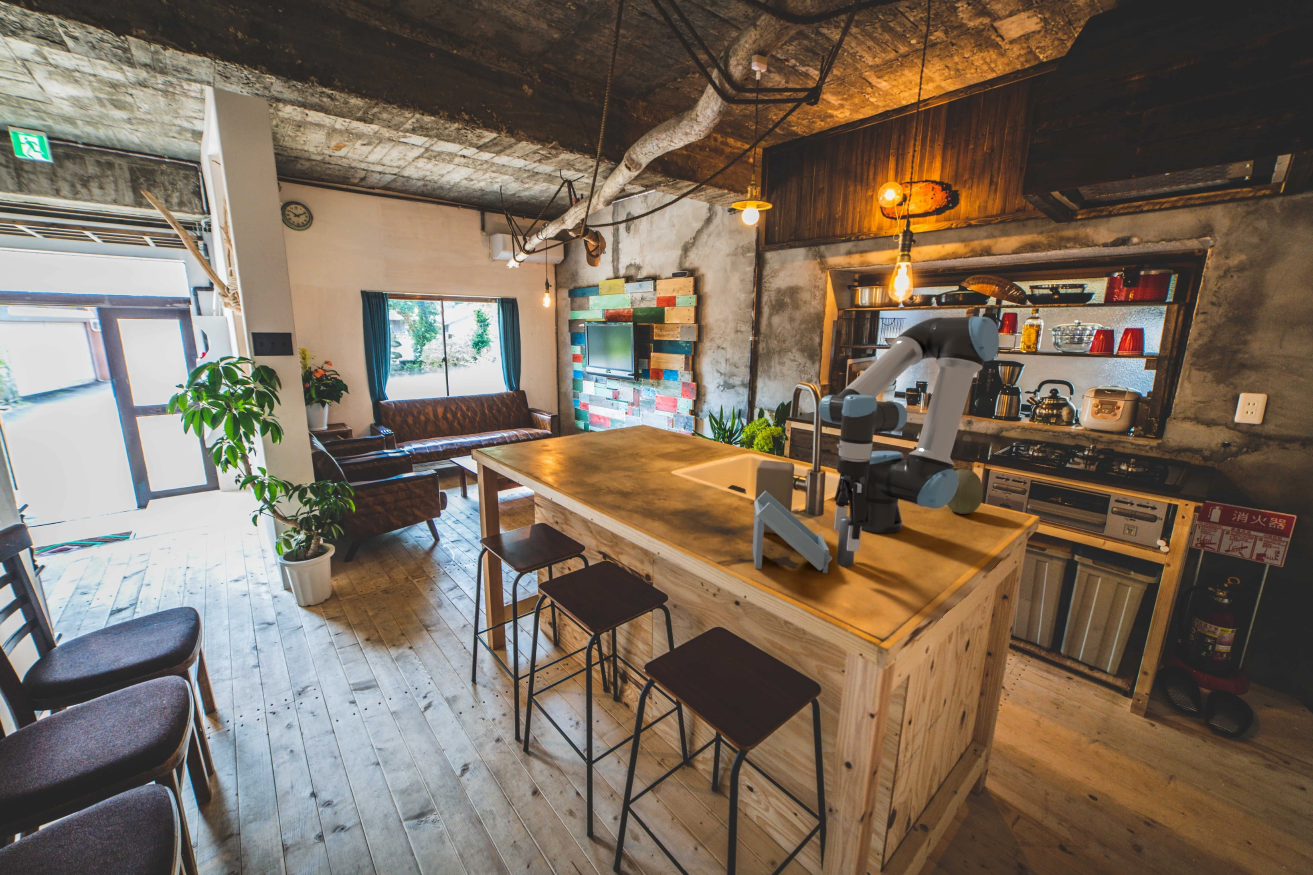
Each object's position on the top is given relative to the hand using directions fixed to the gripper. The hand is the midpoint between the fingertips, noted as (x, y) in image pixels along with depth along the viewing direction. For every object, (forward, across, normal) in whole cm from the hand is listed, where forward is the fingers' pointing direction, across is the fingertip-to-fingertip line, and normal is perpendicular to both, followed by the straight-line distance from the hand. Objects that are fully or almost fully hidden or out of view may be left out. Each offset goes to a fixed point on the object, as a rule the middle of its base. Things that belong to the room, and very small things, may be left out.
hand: (845, 539), depth 129 cm
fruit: (+6, -46, +48) cm, 67 cm away
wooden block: (+7, -22, -16) cm, 28 cm away
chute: (+7, +1, -14) cm, 15 cm away
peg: (+7, 0, 0) cm, 7 cm away
